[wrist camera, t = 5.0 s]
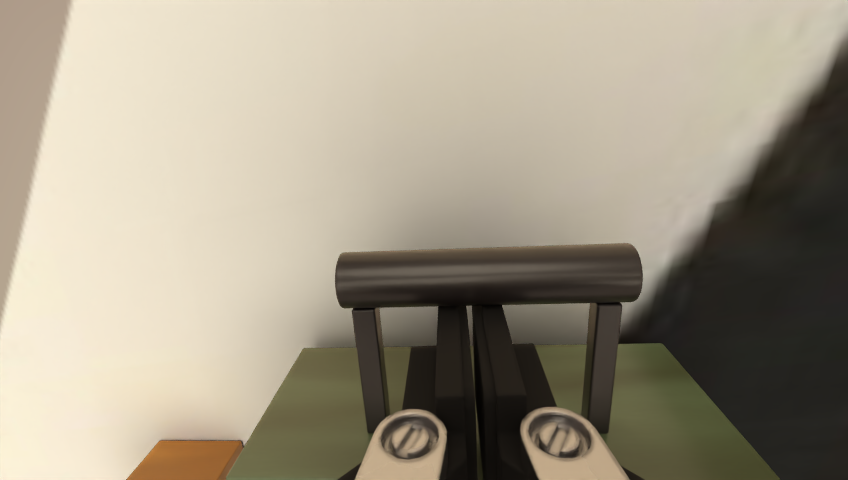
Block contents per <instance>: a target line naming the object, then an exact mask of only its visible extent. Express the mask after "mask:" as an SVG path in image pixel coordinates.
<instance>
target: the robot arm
mask: <svg viewBox="0 0 848 480" xmlns="http://www.w3.org/2000/svg"><path fill="white" fill-rule="evenodd" d="M472 320H473V353H474V379H473V369H472V359H471V349H470V339H469V329H468V319H467V308H466V306H438V328H437V346H418V347H411V351H410V358H409V365H408V372H407V379H406V386H405V393H404V399H403V406H402V411H398V412H395V413H394V414H392V415H390V416H388V417H386V418H385V419H384V420H383V421H382V422H381V423H380V424H379V425H378V427H377V428H376V430H375V432H374V434H373V436H372V439H371V441H370V444H369V446H368V449H367V451H366V453H365V456H364V458H363V461H362V462H361V463H360V464H358V465H357V466H356V467H354V468H353V469H351V470H350V471H349V472H347V473H346V474H344V475H343V476H342V477H340V478H339V479H337V480H478V474H477V440H476V411H477V421H478V431H479V442H480V452H481V462H482V472H483V480H645V479H643V478H641V477H639V476H638V475H636V474H634V473H633V472H631V471H629V470H627V469H626V468H624V467H622V466H621V465H620V464H619V463H618V461H617V460H616V458H615V457H614V455H613V454H612V452H611V451H610V449H609V448H608V446H607V445H606V443H605V442H604V440H603V439H602V437H601V436H600V434H599V433H598V431H597V430H596V428H595V427H594V426H593V425H592V424H591V423H590V422H589V421H588V420H587V419H585V418H584V417H583V416H581V415H580V414H578V413H575V412H573V411H571V410H568V409H564V408H559V407H557V405H556V402H555V399H554V397H553V394H552V391H551V389H550V386H549V383H548V380H547V378H546V375H545V372H544V369H543V367H542V364H541V361H540V358H539V356H538V353H537V350H536V348H535V345H534V344H512V340H511V337H510V333H509V329H508V326H507V322H506V318H505V315H504V311H503V308H502V305H474V306H472ZM474 386H475V390H474ZM475 401H476V407H475Z"/></svg>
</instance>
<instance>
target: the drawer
mask: <svg viewBox="0 0 848 480" xmlns="http://www.w3.org/2000/svg"><path fill="white" fill-rule="evenodd" d="M642 282H643V273H642V265H641V260H640V257H639V254H638V252H637V250H636V249H635V247H634V246H633V245H631V244H628V243H618V244H588V245H557V246H527V247H497V248H466V249H436V250H406V251H375V252H345V253H342V254H340V256H339V258H338V261H337V265H336V273H335V287H336V295H337V299H338V302H339V304H340V306H341V307H342V308H353V310H352V317H353V324H354V332H355V340H356V347H357V348H304V349H303V350H302V351H301V353H300V355H299V356H298V358H297V360H296V361H295V363H294V365H293V366H292V368H291V370H290V371H289V373H288V375H287V376H286V378H285V380H284V381H283V383H282V385H281V386H280V388H279V390H278V391H277V393H276V395H275V396H274V398H273V400H272V401H271V403H270V405H269V406H268V408H267V410H266V411H265V413H264V415H263V416H262V418H261V420H260V421H259V423H258V425H257V426H256V428H255V430H254V431H253V433H252V435H251V436H250V438H249V440H248V441H247V443H246V445H245V446H244V448H243V450H242V451H241V453H240V455H239V456H238V458H237V460H236V461H235V463H234V465H233V466H232V468H231V470H230V471H229V473H228V475H227V476H226V480H337V479H339V478H340V477H342V476H343V475H344V474H346V473H347V472H349V471H350V470H351V469H353V468H354V467H356V466H357V465H358V464H360V463H361V462H362V461H363V458H364V456H365V453H366V451H367V449H368V446H369V444H370V441H371V439H372V436H373V434H374V432H375V430H376V428H377V427H378V425H379V424H380V423H381V422H382V421H383V420H384V419H385V418H386V417H388V416H390V415H392V414H394V413H395V412H398V411H402V406H403V399H404V393H405V386H406V379H407V372H408V365H409V358H410V351H411V347H383V339H382V329H381V320H380V310H379V308H382V307H428V306H474V305H520V304H566V303H590V309H589V322H588V334H587V344H575V345H535V348H536V350H537V353H538V356H539V358H540V361H541V364H542V367H543V369H544V372H545V375H546V378H547V380H548V383H549V386H550V389H551V391H552V394H553V397H554V399H555V402H556V405H557V407H559V408H564V409H568V410H571V411H573V412H575V413H578V414H580V415H581V416H583V417H584V418H585V419H587V420H588V421H589V422H590V423H591V424H592V425H593V426H594V427H595V428H596V430H597V431H598V433H599V434H600V436H601V437H602V439H603V440H604V442H605V443H606V445H607V446H608V448H609V449H610V451H611V452H612V454H613V455H614V457H615V458H616V460H617V461H618V463H619V464H620V465H621V466H622V467H624V468H626V469H627V470H629V471H631V472H633V473H634V474H636V475H638V476H639V477H641V478H643V479H645V480H780V478H779V477H778V476H777V475H776V474H775V473H774V471H773V470H772V469H771V468H770V467H769V466H768V465H767V463H766V462H765V461H764V460H763V459H762V458H761V457H760V455H759V454H758V453H757V452H756V451H755V450H754V448H753V447H752V446H751V445H750V444H749V443H748V442H747V440H746V439H745V438H744V437H743V436H742V435H741V434H740V432H739V431H738V430H737V429H736V428H735V427H734V425H733V424H732V423H731V422H730V421H729V420H728V419H727V417H726V416H725V415H724V414H723V413H722V412H721V410H720V409H719V408H718V407H717V406H716V405H715V404H714V402H713V401H712V400H711V399H710V398H709V397H708V396H707V394H706V393H705V392H704V391H703V390H702V389H701V387H700V386H699V385H698V384H697V383H696V382H695V381H694V379H693V378H692V377H691V376H690V375H689V374H688V373H687V371H686V370H685V369H684V368H683V367H682V366H681V364H680V363H679V362H678V361H677V360H676V359H675V358H674V356H673V355H672V354H671V353H670V352H669V351H668V349H667V348H666V347H665V346H664V345H663V344H661V343H648V344H618V340H619V331H620V322H621V313H622V304H621V303H620V302H633V301H635V300H637V299H638V297H639V295H640V293H641V289H642ZM470 349H471V359H472V369H473V379H474V353H473V346H470ZM474 390H475V386H474ZM475 407H476V401H475ZM476 440H477V474H478V480H483V472H482V462H481V452H480V442H479V431H478V421H477V411H476Z"/></svg>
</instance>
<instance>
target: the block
mask: <svg viewBox="0 0 848 480" xmlns="http://www.w3.org/2000/svg"><path fill="white" fill-rule="evenodd" d="M242 450H243V447H242V443H241V441H159V442H158V443H157V444H156V446H155V447H154V448H153V449H152V450H151V451H150V453H149V454H148V455H147V456H146V457H145V458H144V460H143V461H142V462H141V463H140V464H139V465H138V467H137V468H136V469H135V470H134V471H133V472H132V473H131V475H130V476H129V477H128V478H127V479H126V480H226V476H227V475H228V473H229V471H230V470H231V468H232V466H233V465H234V463H235V461H236V460H237V458H238V456H239V455H240V453H241V451H242Z"/></svg>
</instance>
